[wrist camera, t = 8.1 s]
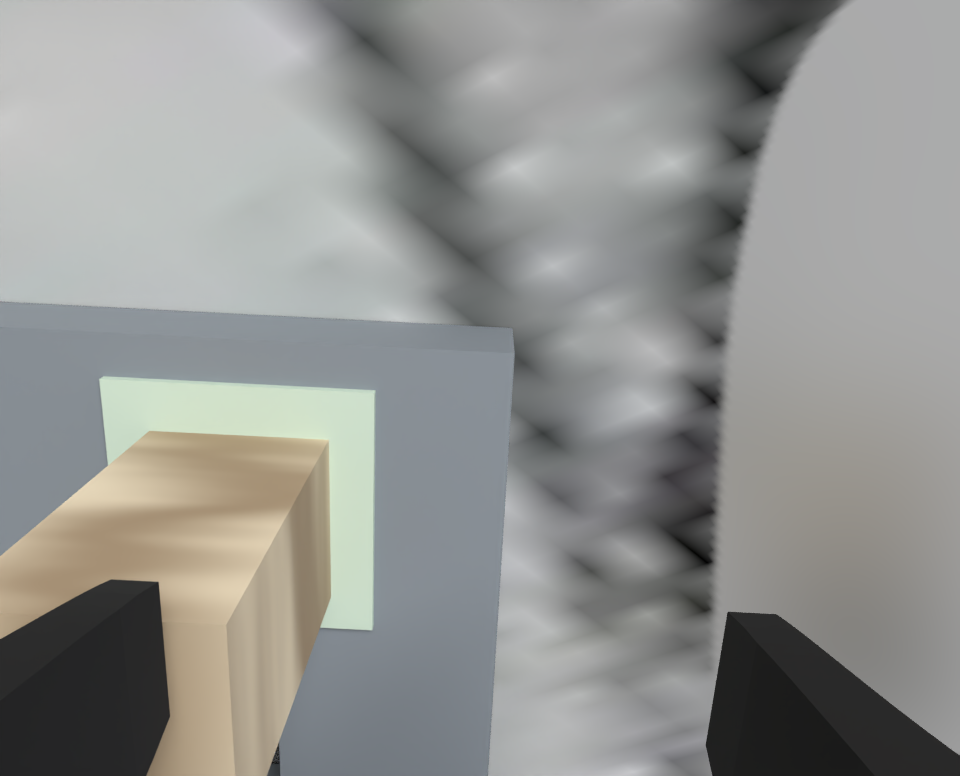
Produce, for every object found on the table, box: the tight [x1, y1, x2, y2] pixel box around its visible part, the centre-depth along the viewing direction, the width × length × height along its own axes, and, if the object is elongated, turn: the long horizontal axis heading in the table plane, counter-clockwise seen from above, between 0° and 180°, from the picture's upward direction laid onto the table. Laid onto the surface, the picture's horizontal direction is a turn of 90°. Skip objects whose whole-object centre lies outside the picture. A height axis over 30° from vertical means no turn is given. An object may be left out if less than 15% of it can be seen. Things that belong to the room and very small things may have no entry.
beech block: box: [0, 431, 331, 776], centre depth 15 cm, size 4×4×7 cm
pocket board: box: [0, 302, 515, 776], centre depth 21 cm, size 14×16×3 cm
